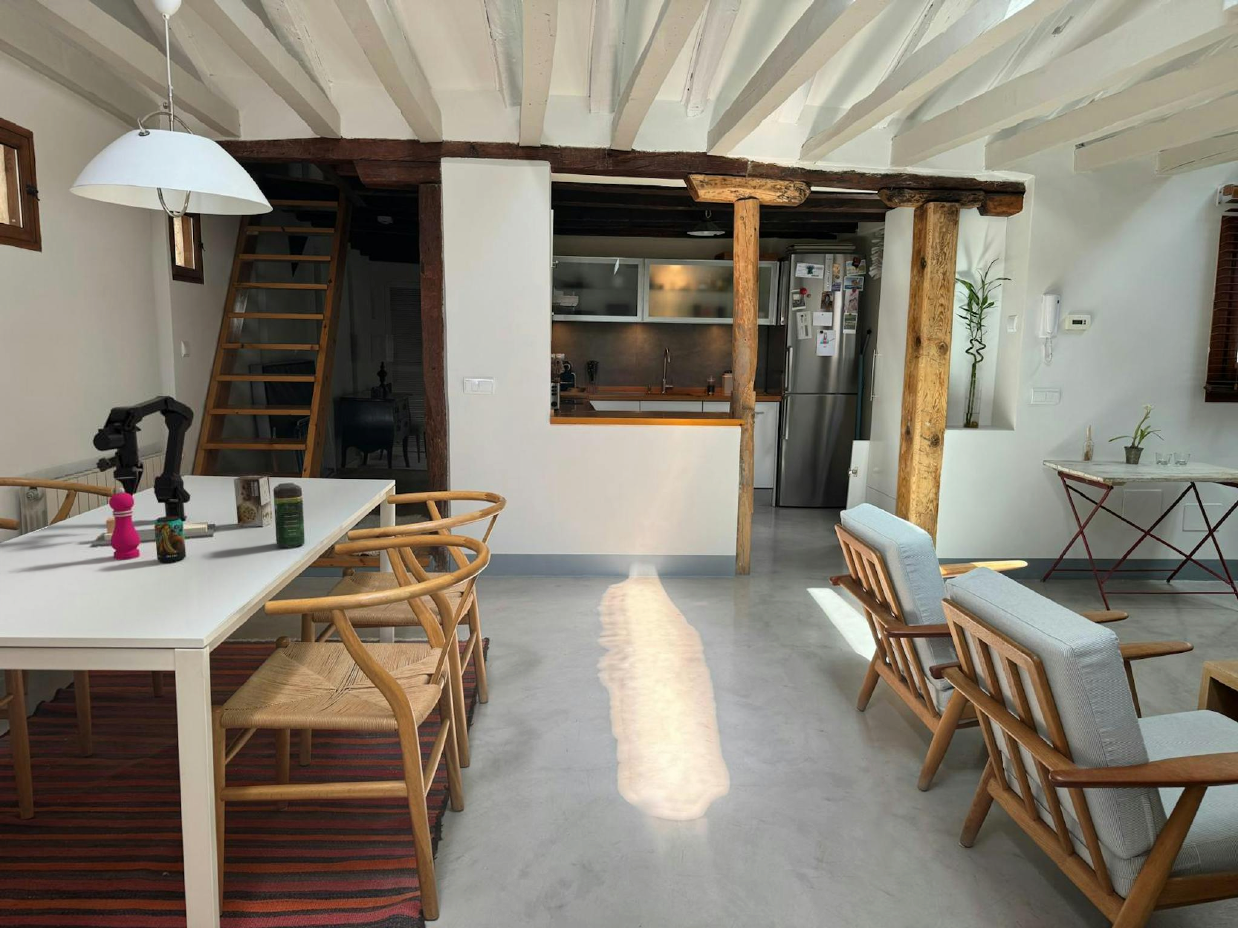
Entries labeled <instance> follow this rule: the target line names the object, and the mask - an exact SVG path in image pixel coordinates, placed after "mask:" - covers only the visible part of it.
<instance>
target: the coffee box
mask: <svg viewBox="0 0 1238 928" xmlns="http://www.w3.org/2000/svg"><path fill="white" fill-rule="evenodd" d="M233 483H234V495H235V507H236V519H237V527H257V526H263V527H266V526H268V525H271V524H273V515H272V512H273V511H272V500H271V498H272V497H271V488H270V487H271V486H270V476H269V475H242V476H239V477H236V478H234V479H233Z"/></svg>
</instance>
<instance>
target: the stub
mask: <svg viewBox="0 0 1238 928" xmlns="http://www.w3.org/2000/svg"><path fill="white" fill-rule="evenodd" d="M105 523H106V532H105V533H106V534H105V535H104V537H105V540H111V537H112V534H113V531H114V528H115V518H114V517H108V518H107V519H106V520H105Z"/></svg>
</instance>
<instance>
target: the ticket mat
mask: <svg viewBox="0 0 1238 928" xmlns="http://www.w3.org/2000/svg"><path fill="white" fill-rule="evenodd" d="M183 526H184V538H185V540H189V539H190V538H192V539H201V538H211V537H212V538H213V537H214V533H215V530H216V523H208V522H207V521H203V522H193V523H192V522H191V523H183ZM136 531H137V533H138V534H139V537H140V544H144V543H153V542H154V543H156V539H155V528H150V529H136ZM106 533H107V532H102V533H100V534H99V536H98V537H97V539H96V540H95V541H94V542H93V543H92V548H97V546H101V547H111V540H105V537H104V535H105V534H106Z"/></svg>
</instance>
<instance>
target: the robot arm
mask: <svg viewBox="0 0 1238 928" xmlns="http://www.w3.org/2000/svg"><path fill="white" fill-rule="evenodd" d="M158 412H159V414H160V415H161V416H163V418H164V424H165V426H166V428H167V430H168V432H167V433H168V435H167V441H166V446H165V447H166V449H165V455H164V463H163V469H162V473H161V474H160V475H158V476H155V477H154V485H153V487H152V489H154V490H153V493H154V494H153V495H155V498H156V501H157V503H158V504H164V510H165V511H164V513H165V517H167V516H179V517H180V520H181V521H182V522H183V521H186V520H187V517H188V516H187V515H185V504H186V503H188V502H190V501H191V494H190V493H189V492H188V491H187V490H186V489H185V488H184V480H183V478H182V476H181V467H182V461H183V460H182V459H183V451H184V445H185V444H184V443H185V437H186V436H185V435H186V432H187V431H189V429H190V428H191V426H192V423H193V420H194V416H195V415H194V411H193V410H192V408H191V407H190V406H187V405H186V404H184V403H182V402H180V401H178V400H176V399H175V398H174V397H172V396H170V395H157V396H155V397H154V398H151V399H148V400H144V401H142V402H140V403H137V404H133V405H128V406H127V405H126V406H114V407H113V408H111V409H110V412H109V414H108V417H107V419H106V421H105V423H104V425H103V427H102V428H98V429H97V433H96V434H95V435H94V436H93V439H92V443H93V447H94V448H95V449H96V451H97V450H98V451H99V452H107V451H111V450H112V451H113V450H115V452H114V455H112V456H110V457H108V458H107V457H105V456H103V457H102V458H99V459H98V461H97V462H96V463H95V465H96V468H97V469H99V471H100V473H104V472H106V471H107V470H110V469H112V468H115V469H114V470H113V472H112V473H113V479H115V481H118V482H119V483H121V485H122V488H123V489H124V493H128V494H130V495H131V496H132V497H133V495H134V494H137V491H138V488H139V487H140V482H141V479H142V477H143V474H144V472H145V471H144V469H145V462H144V461H142V460H140V457H139V453H140V448H139V445H138V435H137V434H138V433H137V432H142V428H140V427H139V426H137V424H139V423H140V422H142V421H143V418H145V417H147V416H150V415H153V414H155V413H158Z"/></svg>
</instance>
